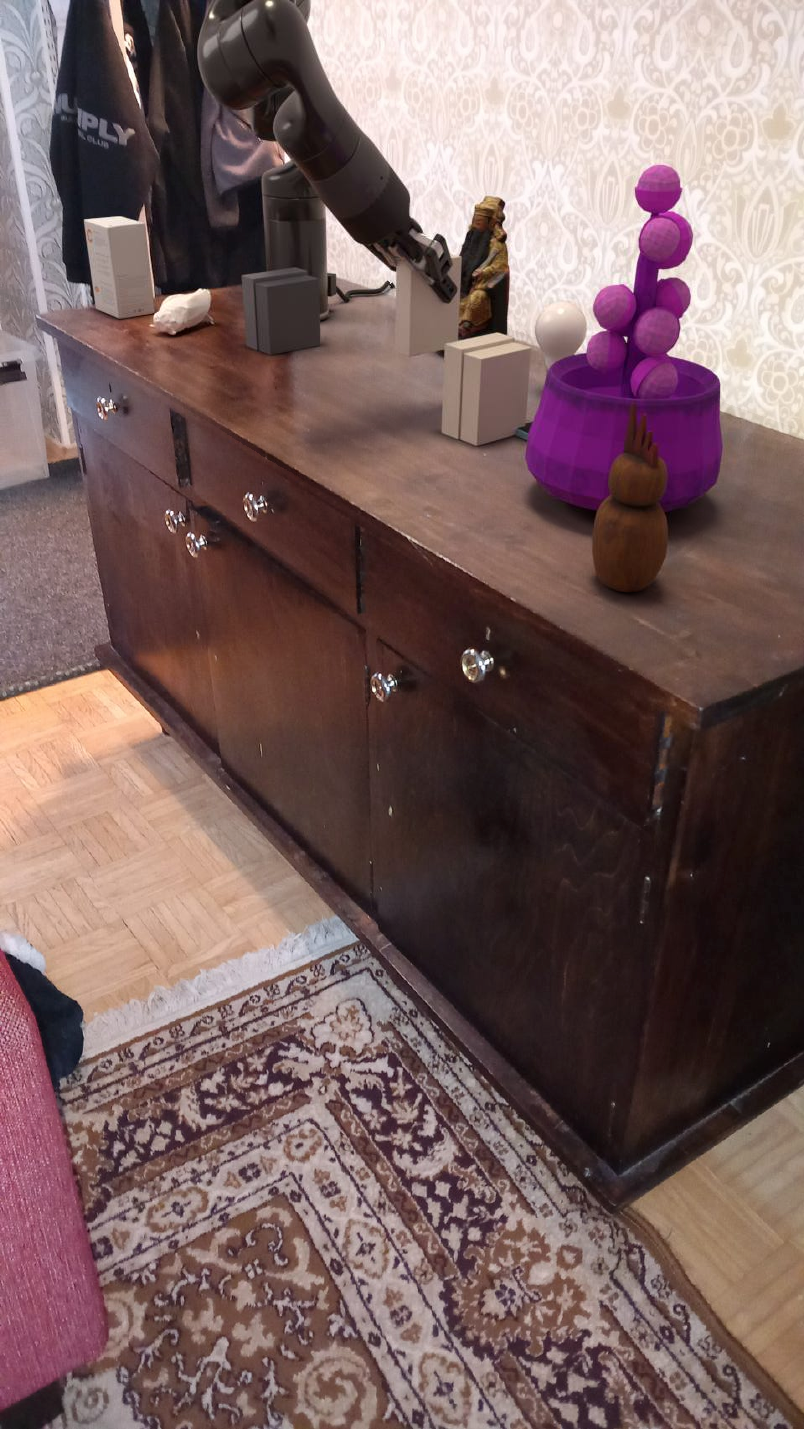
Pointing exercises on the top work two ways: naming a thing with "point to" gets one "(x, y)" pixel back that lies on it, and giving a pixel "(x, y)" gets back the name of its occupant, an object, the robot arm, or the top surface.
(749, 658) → the top surface
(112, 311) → the small box
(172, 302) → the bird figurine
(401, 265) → the white book
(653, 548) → the wooden figurine
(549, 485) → the decorative plant
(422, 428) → the top surface
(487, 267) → the statue
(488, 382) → the white books
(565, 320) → the lightbulb
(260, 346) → the grey books
